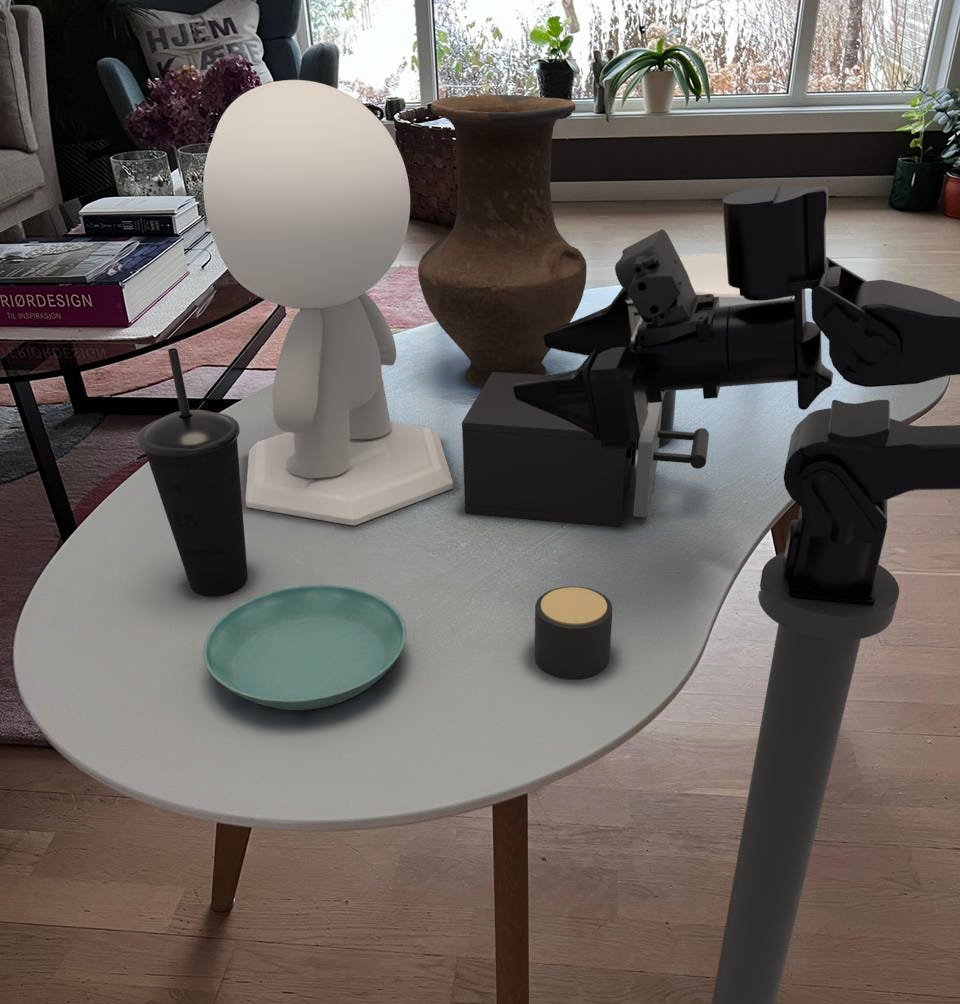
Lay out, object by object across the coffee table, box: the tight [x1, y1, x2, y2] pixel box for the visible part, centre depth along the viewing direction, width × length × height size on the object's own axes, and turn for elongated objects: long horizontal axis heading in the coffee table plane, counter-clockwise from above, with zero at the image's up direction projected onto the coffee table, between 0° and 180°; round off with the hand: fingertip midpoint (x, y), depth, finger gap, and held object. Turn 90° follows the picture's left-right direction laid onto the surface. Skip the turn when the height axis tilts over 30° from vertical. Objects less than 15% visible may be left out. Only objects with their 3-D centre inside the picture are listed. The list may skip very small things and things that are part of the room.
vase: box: [417, 93, 588, 388], centre depth 116 cm, size 19×19×30 cm
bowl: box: [679, 253, 794, 306], centre depth 132 cm, size 19×19×8 cm
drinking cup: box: [137, 347, 249, 597], centre depth 81 cm, size 8×8×20 cm
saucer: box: [202, 584, 407, 711], centre depth 75 cm, size 15×15×3 cm
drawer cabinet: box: [461, 372, 637, 528], centre depth 97 cm, size 15×13×9 cm
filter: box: [534, 585, 614, 680], centre depth 75 cm, size 6×6×5 cm
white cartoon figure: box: [202, 79, 454, 527], centre depth 93 cm, size 20×23×35 cm
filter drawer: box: [624, 402, 710, 518], centre depth 96 cm, size 18×11×7 cm, turn 77°
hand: (530, 364), depth 80 cm, fingers open, 9 cm apart
